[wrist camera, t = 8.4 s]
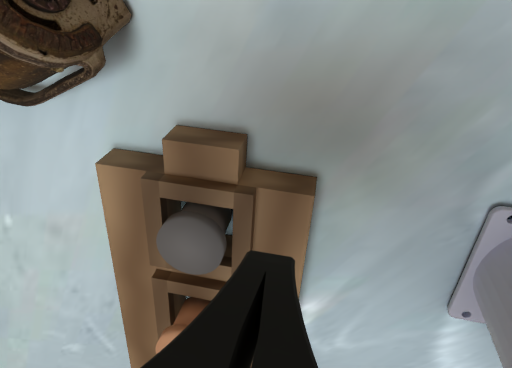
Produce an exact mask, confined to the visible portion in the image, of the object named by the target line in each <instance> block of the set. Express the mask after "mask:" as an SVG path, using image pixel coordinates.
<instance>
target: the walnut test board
mask: <svg viewBox="0 0 512 368" xmlns="http://www.w3.org/2000/svg"><path fill="white" fill-rule="evenodd" d="M162 145H163V155H156V154H149V153H142V152H135V151H128V150H121V149H112V150H111V151H110V152H109V153H108V154H106V155H105V156H104V157H103V158H101V159H100V160H99V161H98V162H97V163H95V165H96V170H97V176H98V182H99V187H100V193H101V199H102V204H103V210H104V216H105V221H106V227H107V233H108V239H109V244H110V250H111V256H112V261H113V267H114V273H115V278H116V284H117V290H118V295H119V301H120V307H121V313H122V318H123V324H124V330H125V335H126V341H127V347H128V352H129V358H130V364H131V368H140V367H142V366H143V365H144V364H145V363H147V362H148V361H149V360H150V359H151V358H153V357H154V356H155V355H156V349H155V348H156V344H157V342H158V340H159V338H160V336H161V334H162V332H163V331H164V329H166V328H167V327H169V326H171V325H173V324H174V322H175V320H176V318H177V316H178V313H179V311H180V309H181V307H182V305H183V303H184V301H185V300H186V299H185V296H190V297H195V298H200V299H205V300H210V301H211V300H212V299H213V298H214V297H215V296H216V294H217V293H218V292H219V291H220V289H221V288H222V287H223V286H224V285H225V283H226V282H227V281H228V280H229V278H230V277H231V276H232V274H233V273H234V272H235V270H236V269H237V267H238V266H239V264H240V263H241V261H242V260H243V258H244V257H245V255H246V253H247V252H249V251H250V250H253V251H259V252H265V253H271V254H277V255H283V256H289V257H292V258H293V259H294V260H295V279H296V287H297V294H298V299H299V293H300V286H301V280H302V274H303V267H304V261H305V255H306V248H307V242H308V236H309V229H310V223H311V217H312V210H313V204H314V198H315V190H316V181H317V177H311V176H304V175H297V174H290V173H283V172H276V171H269V170H262V169H255V168H248V167H246V154H247V134H241V133H233V132H225V131H218V130H210V129H202V128H194V127H187V126H179V125H176V126H175V127H174V128H173V129H172V130H171V131H170V132H169V133H168V134H167V135H166V136H165V137H164V138H163V139H162ZM180 201H186V202H192V203H198V204H205V205H211V206H217V207H224V208H230V209H233V236H232V235H226V234H225V237H226V243H227V245H226V250H225V253H224V256H223V258H222V261H221V263H220V264H219V266H218V267H217V268H216V269H215V270H213V271H212V272H210V273H207V274H201V275H193V274H188V273H184V272H181V271H179V270H177V269H175V268H174V267H172V266H171V265H169V264H168V263H167V262H166V261H165V260H164V259H163V257H162V256H161V254H160V253H159V251H158V248H157V244H156V238H157V234H158V232H159V230H160V228H161V227H162V225H163V224H164V222H165V221H166V220H167V218H168V217H170V216H171V215H173V214H175V213H177V212H181V202H180ZM253 358H254V357H253ZM252 362H253V361H252ZM251 366H252V364H251ZM250 368H251V367H250Z"/></svg>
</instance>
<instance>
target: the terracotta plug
mask: <svg viewBox="0 0 512 368" xmlns="http://www.w3.org/2000/svg"><path fill="white" fill-rule="evenodd" d="M209 303H210V300H205V299H200V298H195V297H189V298H188V299H186V300H185V301H184V303H183V305H182V307H181V309H180V311H179V313H178V316H177V318H176V320H175V322H174V324H173V325H171V326H169V327H167V328H166V329H164V331H163V332H162V334H161V336H160V338H159V340H158V342H157V344H156V348H155V349H156V354H157V353H159V352H160V351H161V350H162V349H163V348H164V347H166V346H167V345H168V344H169V343H170V342H171V341H172V340H173V339H174V338H175V337H177V336H178V335H179V334H180V333H181V332H182V331H183V330H184V329H185V328H186V327H187V326H188V325H189V324H190V323H191V322H192V321H193V320H194V319H195V318H196V317H197V316H198V314H199V313H200V312H201V311H202V310H203V309H204V308H205V307H206V306H207V305H208V304H209Z"/></svg>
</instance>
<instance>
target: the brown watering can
mask: <svg viewBox="0 0 512 368" xmlns="http://www.w3.org/2000/svg"><path fill="white" fill-rule="evenodd" d="M131 16H132V15H131V14H130V12H129V10H128V9H127V7H126V5H125V4H124V2H123V1H122V0H0V100H2V101H5V102H7V103H11V104H16V105H21V106H35V105H38V104H41V103H44V102H45V101H47V100H49V99H51V98H53V97H55V96H57V95H59V94H61V93H63V92H65V91H67V90H69V89H71V88H73V87H75V86H77V85H79V84H81V83H83V82H85V81H87V80H89V79H91V78H93V77H95V76H96V75H97V73H98V72H99V71H100V70H101V69H102V68H103V67H104V65H105V62H106V59H105V55H104V52H103V45H104V44H105V43H106V42H107V41H108V40H109V39H110V38H111V37H113V36H114V35H115V34H116V33H117V32H118V31H119V30H120V29H121V28H122V27H124V26H125V25H126V24H127V23H128V22H129V21H130V19H131ZM74 65H79V66H83V68H81V69H80V70H78V71H76V72H74V73H72V74H70V75H68V76H66V77H64V78H62V79H60V80H59V81H57V82H55V83H54V84H52V85H50V86H48V87H46V88H45V89H43V90H41V91H39V92H36V93H33V92H27V91H23V90H21V89H23V88H27V87H30V86H32V85H35V84H37V83H40V82H42V81H43V80H45V79H47V78H48V77H50V76H52V75H54V74H56V73H58V72H63V71H64V69H65V68H67V67H70V66H74Z"/></svg>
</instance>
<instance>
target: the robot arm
mask: <svg viewBox="0 0 512 368" xmlns="http://www.w3.org/2000/svg"><path fill="white" fill-rule="evenodd" d="M511 215H512V207H506V206H498V207H495V208H493V209H492V210H491V211H490V212H489V215H488V217H487V219H486V221H485V224H484V226H483V228H482V230H481V233H480V235H479V237H478V239H477V242H476V244H475V246H474V248H473V251H472V253H471V255H470V258H469V260H468V262H467V264H466V267H465V269H464V271H463V273H462V276H461V278H460V280H459V282H458V285H457V287H456V289H455V291H454V294H453V296H452V298H451V300H450V303H449V305H448V308H447V310H448V313H449V315H450V316H451V317H454V318H458V319H464V320H469V321H474V322H480V323H485V324H486V325H487V328H488V330H489V333H490V335H491V338H492V340H493V343H494V345H495V348H496V351H497V353H498V356H499V358H500V361H501V363H502V366H503V368H512V219H507V218H508V217H509V216H511ZM465 311H468V312H465ZM253 357H254V358H253ZM252 361H253V362H252ZM251 364H252V366H251ZM250 367H251V368H318V366H317V363H316V360H315V357H314V354H313V351H312V348H311V345H310V342H309V339H308V335H307V332H306V328H305V325H304V321H303V317H302V312H301V308H300V304H299V299H298V294H297V287H296V279H295V260H294V259H293V258H292V257H289V256H283V255H277V254H271V253H265V252H259V251H253V250H250V251H249V252H247V253H246V255H245V257H244V258H243V260H242V261H241V263H240V264H239V266H238V267H237V269H236V270H235V272H234V273H233V274H232V276H231V277H230V278H229V280H228V281H227V282H226V283H225V285H224V286H223V287H222V288H221V289H220V291H219V292H218V293H217V294H216V296H215V297H214V298H213V299H212V300H211V301H210V303H209V304H208V305H207V306H206V307H205V308H204V309H203V310H202V311H201V312H200V313H199V314H198V316H197V317H196V318H195V319H194V320H193V321H192V322H191V323H190V324H189V325H188V326H187V327H186V328H185V329H184V330H183V331H182V332H181V333H180V334H179V335H178V336H177V337H175V338H174V339H173V340H172V341H171V342H170V343H169V344H168V345H167V346H166V347H164V348H163V349H162V350H161V351H160V352H159V353H157V354H156V355H155V356H154V357H153V358H151V359H150V360H149V361H148V362H147V363H145V364H144V365H143V366H142V367H140V368H250Z"/></svg>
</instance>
